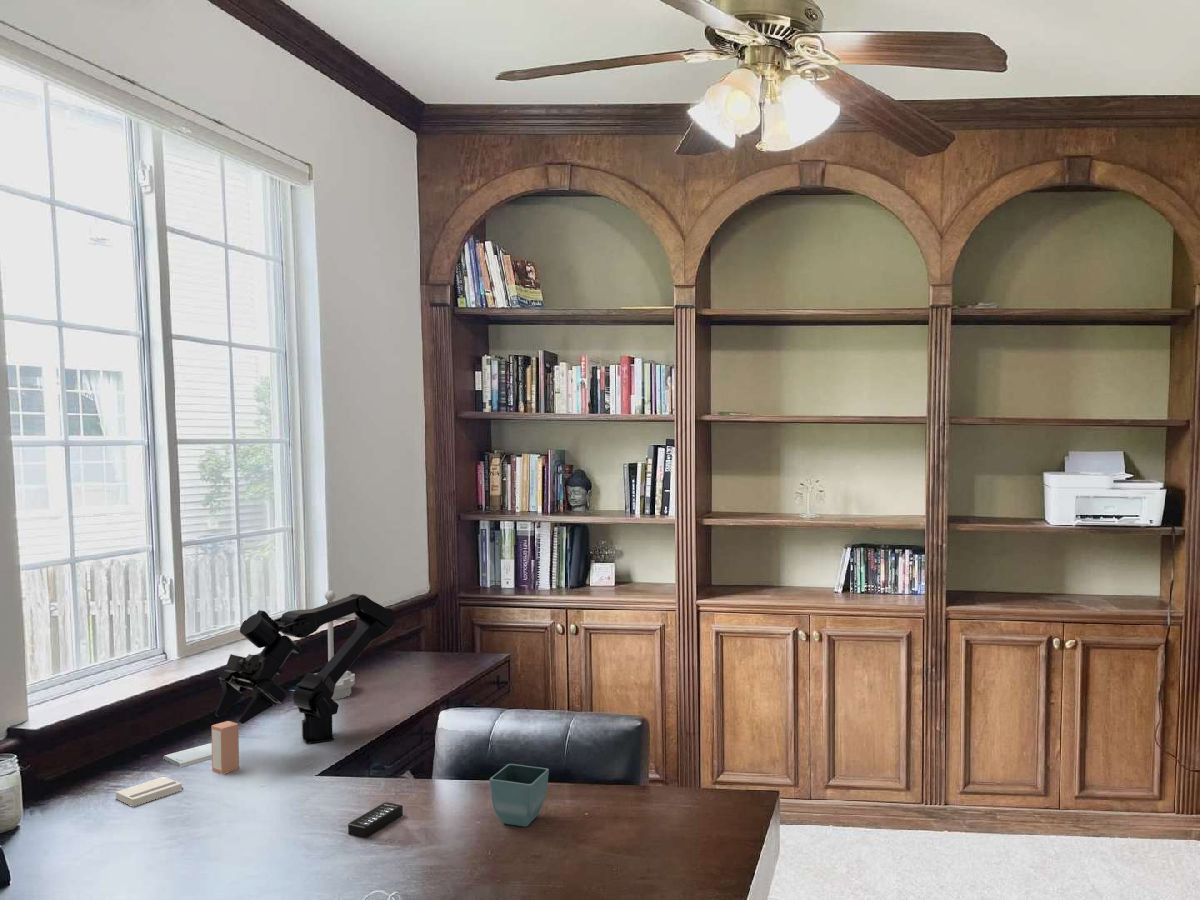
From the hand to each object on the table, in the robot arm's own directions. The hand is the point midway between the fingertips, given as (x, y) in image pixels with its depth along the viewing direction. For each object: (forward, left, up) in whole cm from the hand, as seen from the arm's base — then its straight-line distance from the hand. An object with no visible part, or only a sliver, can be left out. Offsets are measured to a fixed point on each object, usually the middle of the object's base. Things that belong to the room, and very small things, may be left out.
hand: (228, 719), depth 197 cm
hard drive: (+6, -12, -12) cm, 18 cm away
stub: (+1, 0, -11) cm, 11 cm away
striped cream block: (+15, +9, -11) cm, 21 cm away
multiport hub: (-24, +44, -12) cm, 52 cm away
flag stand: (-28, -50, -11) cm, 58 cm away
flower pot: (-49, +54, -11) cm, 74 cm away
